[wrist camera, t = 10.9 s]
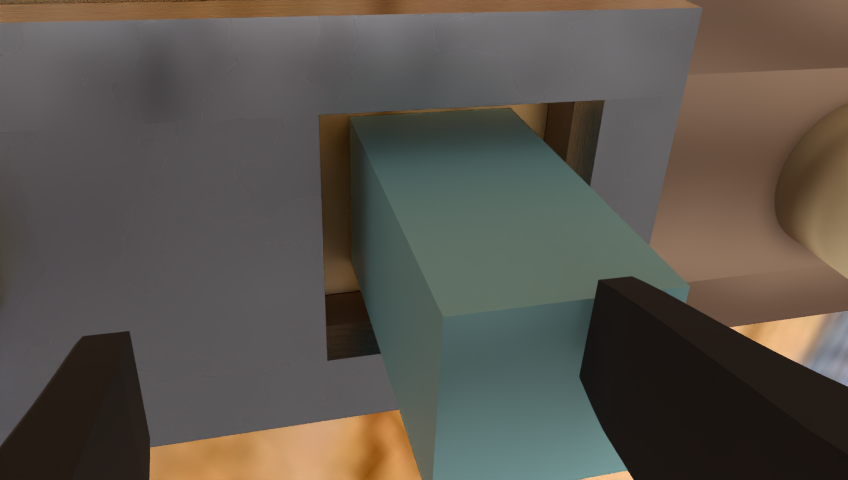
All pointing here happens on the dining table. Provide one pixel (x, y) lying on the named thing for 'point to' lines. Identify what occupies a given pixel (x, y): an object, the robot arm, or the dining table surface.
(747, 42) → the walnut link
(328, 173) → the dining table surface
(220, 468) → the dining table surface
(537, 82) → the metal link
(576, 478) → the block
